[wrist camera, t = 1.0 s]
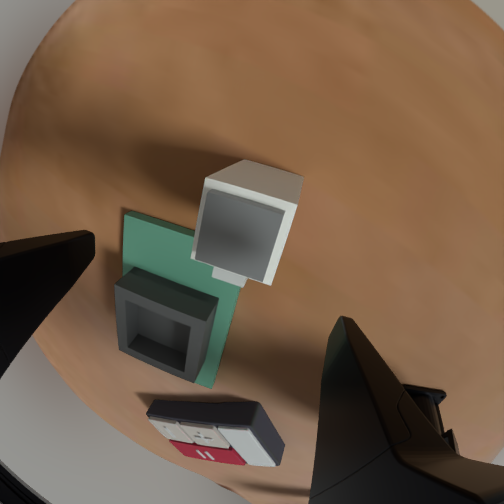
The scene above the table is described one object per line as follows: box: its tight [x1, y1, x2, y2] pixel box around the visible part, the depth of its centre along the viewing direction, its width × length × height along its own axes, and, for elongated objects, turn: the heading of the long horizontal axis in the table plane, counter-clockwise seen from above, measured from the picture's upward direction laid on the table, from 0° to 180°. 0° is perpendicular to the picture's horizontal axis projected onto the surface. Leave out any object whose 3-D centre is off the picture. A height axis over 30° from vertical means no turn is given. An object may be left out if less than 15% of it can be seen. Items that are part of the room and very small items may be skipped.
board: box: [114, 211, 241, 389], centre depth 23 cm, size 10×16×4 cm, turn 166°
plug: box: [191, 159, 304, 287], centre depth 16 cm, size 4×5×8 cm
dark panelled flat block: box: [146, 400, 285, 467], centre depth 31 cm, size 11×4×15 cm
